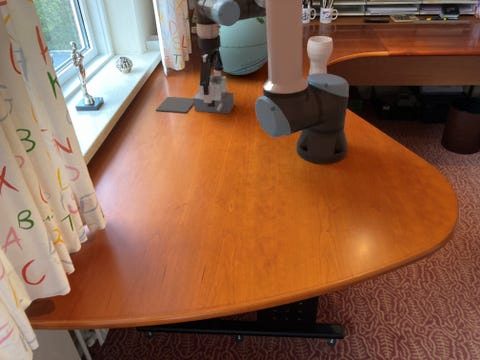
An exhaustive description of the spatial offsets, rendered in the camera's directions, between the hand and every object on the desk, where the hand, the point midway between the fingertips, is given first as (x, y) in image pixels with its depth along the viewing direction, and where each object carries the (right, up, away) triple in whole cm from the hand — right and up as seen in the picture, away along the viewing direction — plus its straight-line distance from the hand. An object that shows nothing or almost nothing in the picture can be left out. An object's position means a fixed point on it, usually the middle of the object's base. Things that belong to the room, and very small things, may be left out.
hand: (213, 94), depth 147 cm
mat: (-14, -3, +6) cm, 16 cm away
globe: (+10, +17, +32) cm, 38 cm away
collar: (0, 0, 0) cm, 0 cm away
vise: (0, -6, +1) cm, 6 cm away
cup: (+43, +14, +27) cm, 53 cm away
